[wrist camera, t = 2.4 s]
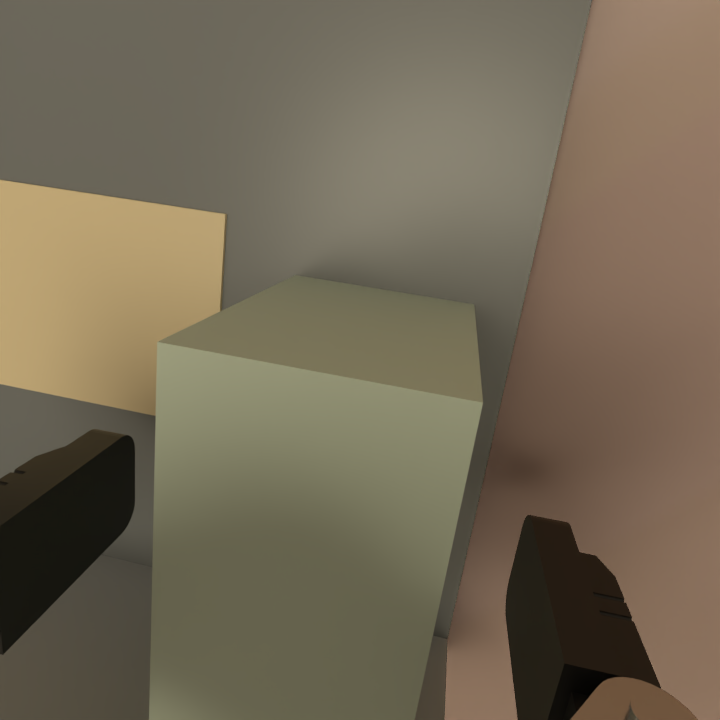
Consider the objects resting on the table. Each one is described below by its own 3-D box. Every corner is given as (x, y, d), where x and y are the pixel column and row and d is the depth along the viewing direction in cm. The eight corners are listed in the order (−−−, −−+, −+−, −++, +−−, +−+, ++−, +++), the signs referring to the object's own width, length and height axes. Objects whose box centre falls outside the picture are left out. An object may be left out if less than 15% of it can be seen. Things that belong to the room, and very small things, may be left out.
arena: (613, -122, 10) (785, -484, 5) (440, 651, 16) (427, 896, 10) (-217, -175, 13) (-743, -459, 7) (-115, 514, 18) (-367, 654, 13)
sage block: (474, 304, 12) (482, 403, 6) (414, 605, 14) (382, 869, 9) (295, 275, 13) (157, 342, 7) (267, 570, 15) (147, 799, 9)
